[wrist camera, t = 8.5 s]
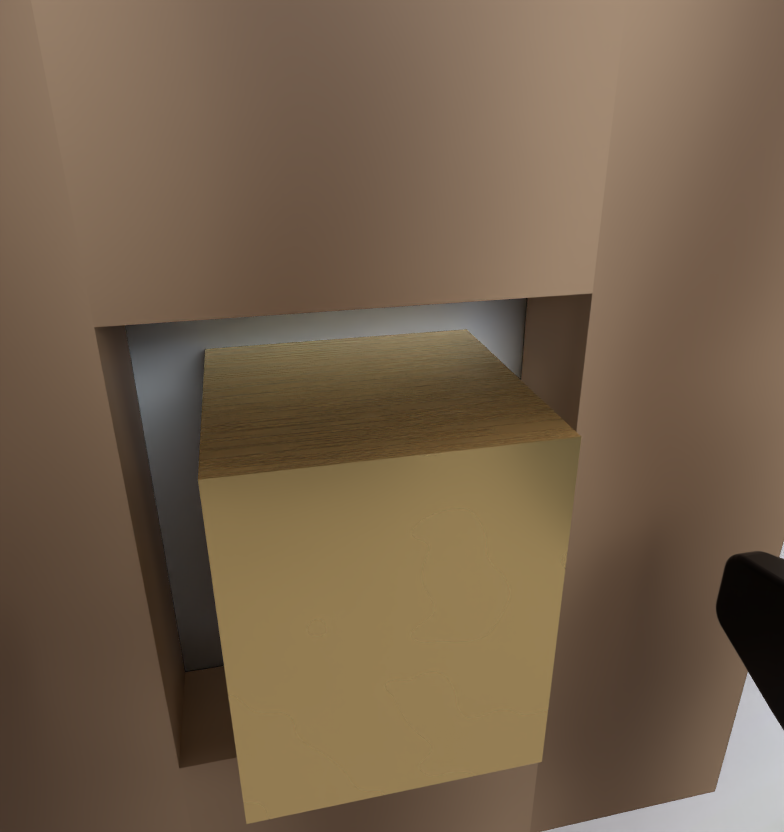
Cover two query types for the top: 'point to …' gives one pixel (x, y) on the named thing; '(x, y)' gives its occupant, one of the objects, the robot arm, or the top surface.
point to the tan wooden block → (382, 562)
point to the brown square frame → (378, 288)
